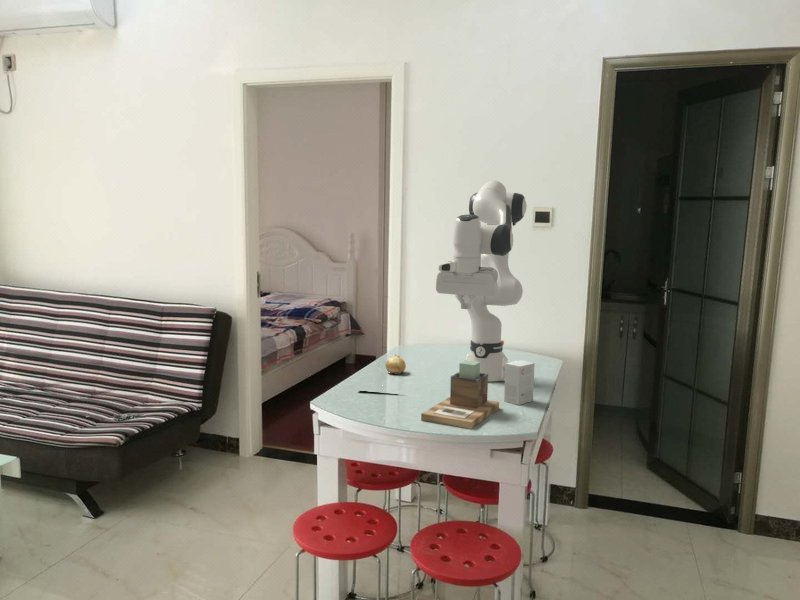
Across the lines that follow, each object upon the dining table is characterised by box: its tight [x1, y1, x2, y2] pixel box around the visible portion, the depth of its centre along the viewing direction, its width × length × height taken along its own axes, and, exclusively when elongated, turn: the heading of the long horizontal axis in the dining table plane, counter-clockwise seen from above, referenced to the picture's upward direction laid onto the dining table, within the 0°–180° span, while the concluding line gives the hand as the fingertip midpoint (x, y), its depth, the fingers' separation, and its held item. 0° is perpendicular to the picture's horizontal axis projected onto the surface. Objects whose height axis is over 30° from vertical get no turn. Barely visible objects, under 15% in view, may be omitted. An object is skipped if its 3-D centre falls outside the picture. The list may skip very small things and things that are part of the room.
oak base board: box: [420, 371, 500, 430], centre depth 197 cm, size 24×16×11 cm, turn 152°
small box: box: [503, 359, 535, 406], centre depth 212 cm, size 8×6×13 cm
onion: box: [384, 354, 407, 375], centre depth 249 cm, size 8×8×7 cm
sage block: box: [458, 360, 480, 379], centre depth 201 cm, size 5×5×5 cm
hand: (466, 308), depth 206 cm, fingers closed
